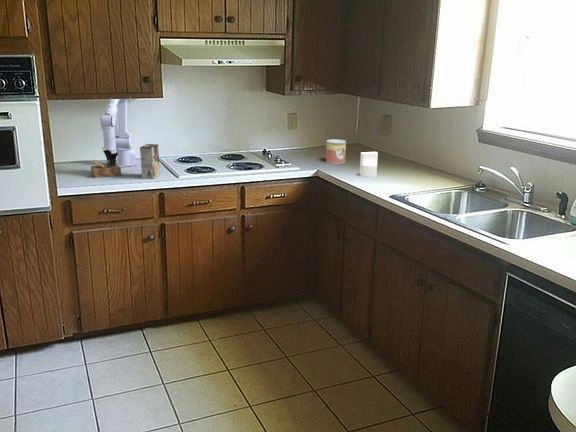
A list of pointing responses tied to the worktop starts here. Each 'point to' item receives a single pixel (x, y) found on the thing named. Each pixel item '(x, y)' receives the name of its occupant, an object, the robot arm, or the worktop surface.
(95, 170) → the hitch block
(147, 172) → the coffee box
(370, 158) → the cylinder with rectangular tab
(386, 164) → the worktop surface
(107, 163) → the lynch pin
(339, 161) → the canned food
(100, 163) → the block
